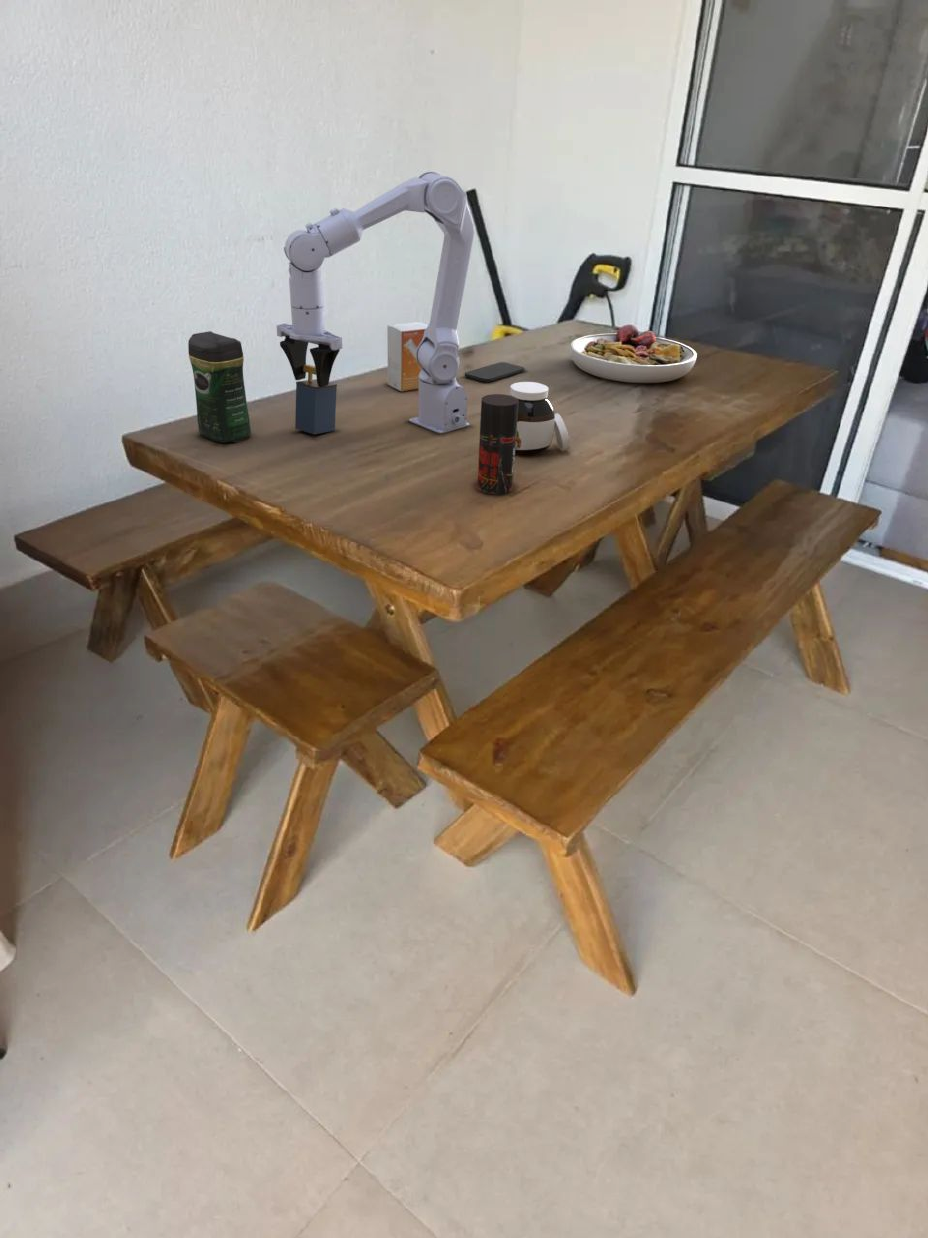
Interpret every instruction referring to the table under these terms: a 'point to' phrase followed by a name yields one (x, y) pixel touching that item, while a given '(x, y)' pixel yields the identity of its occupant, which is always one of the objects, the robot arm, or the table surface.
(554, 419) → the spread jar
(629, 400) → the table surface
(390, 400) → the table surface
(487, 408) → the deodorant
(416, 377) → the small box
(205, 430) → the coffee jar
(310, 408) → the box
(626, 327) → the bowl
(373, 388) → the table surface
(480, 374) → the phone
